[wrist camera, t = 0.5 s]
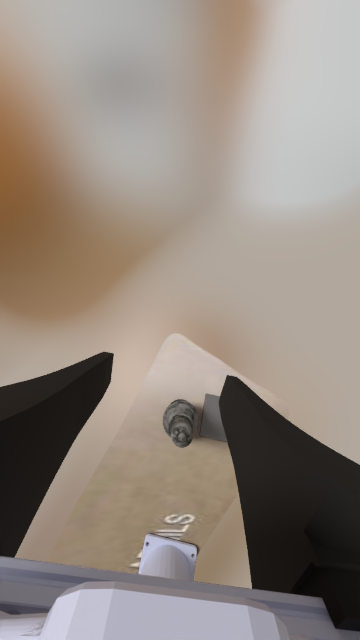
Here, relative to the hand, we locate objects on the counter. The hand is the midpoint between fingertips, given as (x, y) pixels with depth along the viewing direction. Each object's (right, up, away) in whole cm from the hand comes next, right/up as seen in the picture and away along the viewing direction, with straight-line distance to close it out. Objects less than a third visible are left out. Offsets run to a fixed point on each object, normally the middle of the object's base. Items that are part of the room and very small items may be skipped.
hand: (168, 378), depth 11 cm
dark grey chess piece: (+1, -14, +21) cm, 25 cm away
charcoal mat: (+8, -14, +21) cm, 27 cm away
